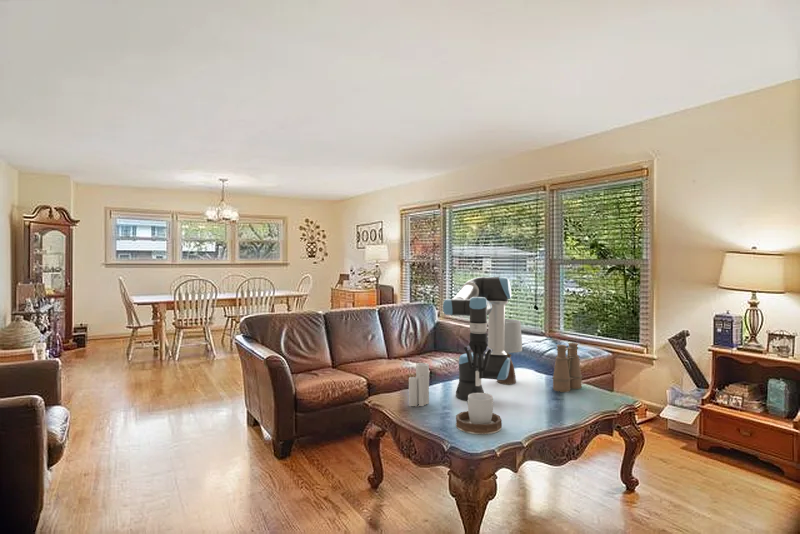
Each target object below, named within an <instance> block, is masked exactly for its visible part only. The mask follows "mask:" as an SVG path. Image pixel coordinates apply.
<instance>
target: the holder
mask: <svg viewBox="0 0 800 534" xmlns="http://www.w3.org/2000/svg"><path fill="white" fill-rule="evenodd" d="M455 420H456V421H455V427H456V429H458V430H460V431H461V432H463V431H464V432H463V433H466V434H471V435H492V434H495V433H498V432H500V431H501V430H502V429H503V428H502V424H503V423H502V418H501V416H500V415H499V414H496V413H494V412H493V414H492V419H491V422H490V424H472V423H471V421H470V418H469V414H468V410H466V411H461V412H459V413H457V414H456V415H455Z"/></svg>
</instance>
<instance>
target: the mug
mask: <svg viewBox="0 0 800 534" xmlns="http://www.w3.org/2000/svg"><path fill="white" fill-rule="evenodd" d="M467 411H468V414H469V418H470V421H471V423H472V424H490V422H491V419H492V414H493V413H494V396H493V395H492V394H489V393H486V392H484V393H472V394H469V395H468V400H467Z"/></svg>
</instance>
